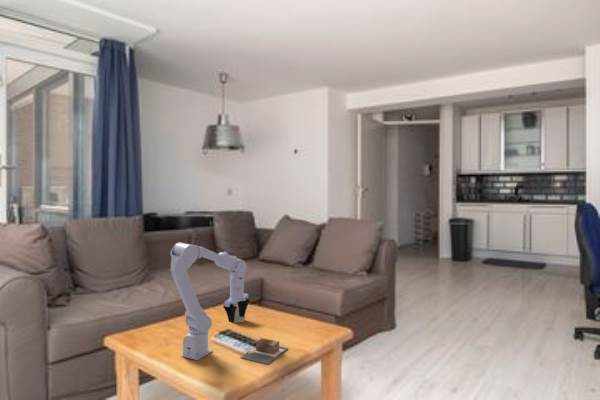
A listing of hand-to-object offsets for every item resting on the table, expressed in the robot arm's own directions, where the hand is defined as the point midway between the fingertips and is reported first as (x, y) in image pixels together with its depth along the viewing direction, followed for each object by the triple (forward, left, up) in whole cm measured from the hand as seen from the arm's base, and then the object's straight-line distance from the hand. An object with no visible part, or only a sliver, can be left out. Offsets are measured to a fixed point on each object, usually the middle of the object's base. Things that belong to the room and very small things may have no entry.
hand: (236, 319), depth 171 cm
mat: (-5, -17, -9) cm, 20 cm away
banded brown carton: (-3, -17, -9) cm, 19 cm away
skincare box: (+21, +14, -10) cm, 27 cm away
